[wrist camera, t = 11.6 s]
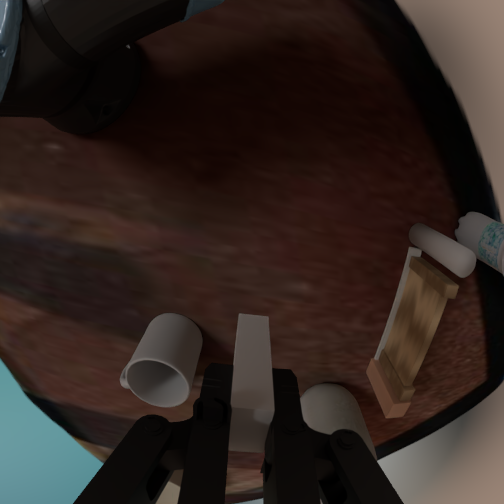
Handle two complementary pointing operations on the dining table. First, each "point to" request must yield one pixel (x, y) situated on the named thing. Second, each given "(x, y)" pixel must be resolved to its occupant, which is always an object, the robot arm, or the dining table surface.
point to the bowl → (171, 489)
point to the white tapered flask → (334, 411)
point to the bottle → (483, 238)
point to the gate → (415, 324)
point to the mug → (164, 361)
